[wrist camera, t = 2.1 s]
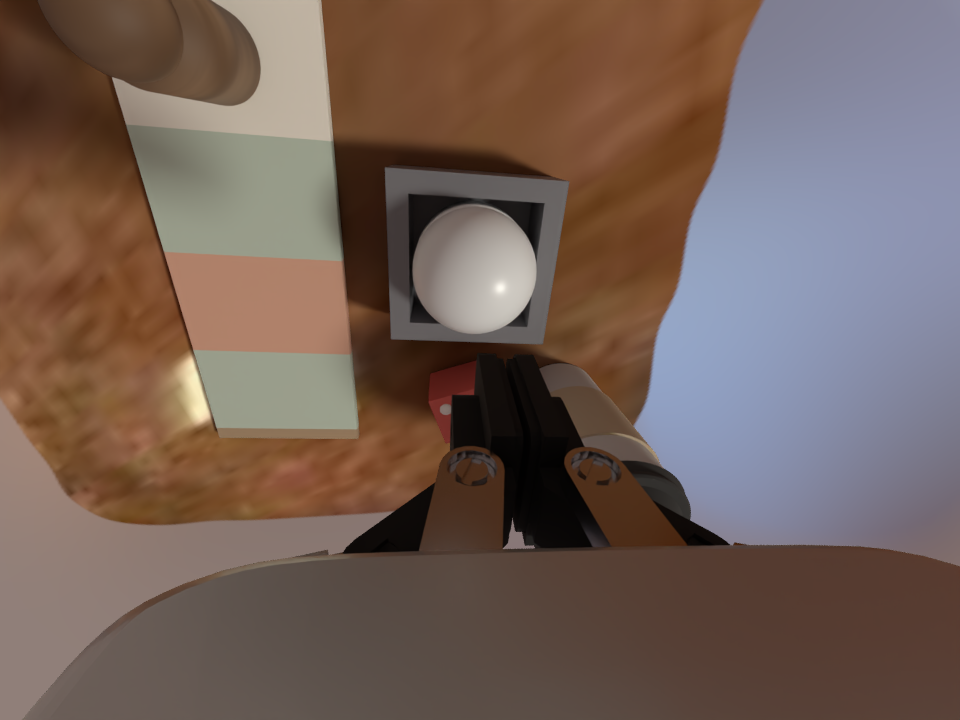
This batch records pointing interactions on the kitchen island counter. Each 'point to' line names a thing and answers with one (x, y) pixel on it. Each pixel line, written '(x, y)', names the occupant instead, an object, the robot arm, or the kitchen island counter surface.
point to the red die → (449, 392)
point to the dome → (473, 268)
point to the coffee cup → (613, 434)
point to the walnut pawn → (162, 45)
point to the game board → (257, 232)
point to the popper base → (434, 189)
